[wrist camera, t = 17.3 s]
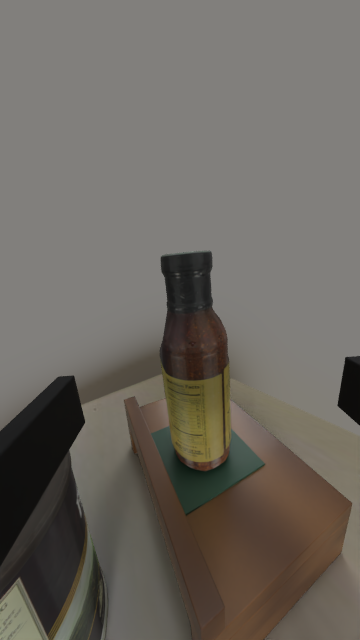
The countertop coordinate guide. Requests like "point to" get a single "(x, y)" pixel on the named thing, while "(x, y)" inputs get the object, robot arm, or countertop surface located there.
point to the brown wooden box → (239, 524)
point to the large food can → (54, 571)
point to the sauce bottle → (195, 363)
